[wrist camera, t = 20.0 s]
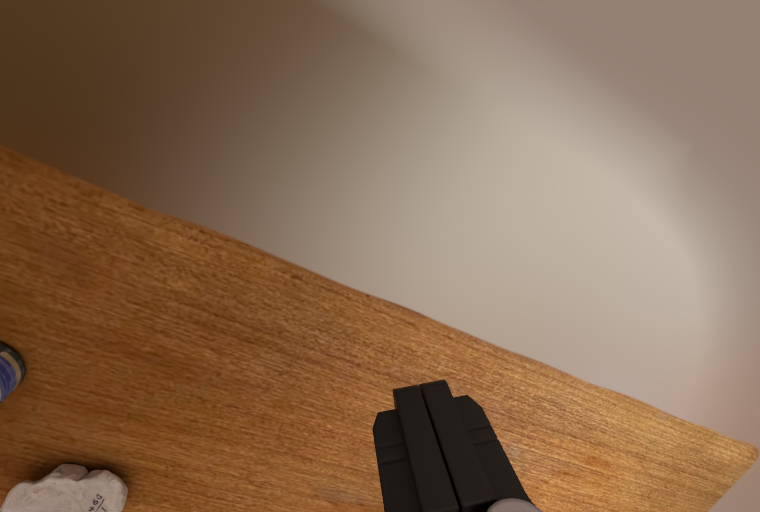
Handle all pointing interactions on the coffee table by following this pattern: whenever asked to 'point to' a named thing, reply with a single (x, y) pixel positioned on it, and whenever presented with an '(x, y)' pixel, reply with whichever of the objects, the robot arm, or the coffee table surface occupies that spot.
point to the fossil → (68, 492)
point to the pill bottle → (9, 371)
